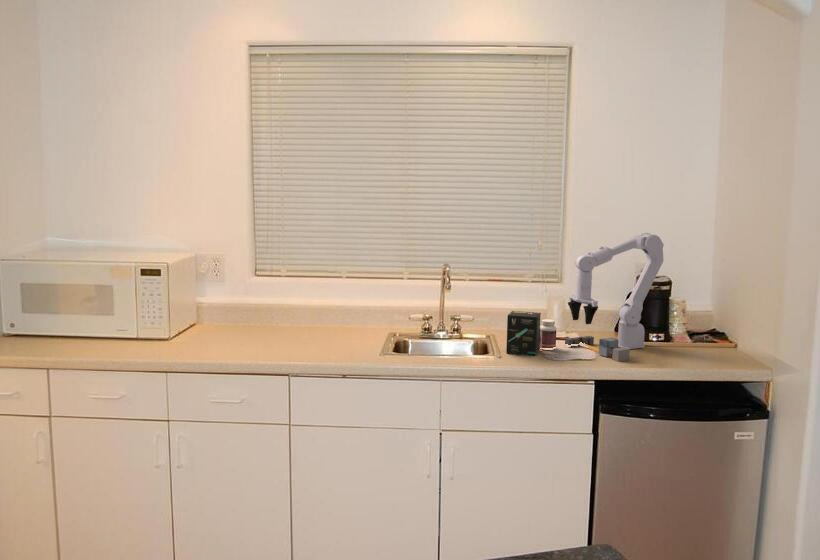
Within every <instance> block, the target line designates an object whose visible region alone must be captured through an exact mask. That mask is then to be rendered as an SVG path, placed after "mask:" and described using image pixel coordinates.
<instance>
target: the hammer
mask: <svg viewBox="0 0 820 560" xmlns="http://www.w3.org/2000/svg"><path fill="white" fill-rule="evenodd" d="M579 343H580V342H579ZM583 344H584V343H583ZM585 345H586V344H585ZM586 346H588V347H589V348H590V349H592V350H593V352H595V353H598V354H599V347H598V348H597V347H595V346H593V345H586ZM592 350H591V351H592ZM630 350H631V349H627V348H624V347H622V348H621V347H618V348H614V349H613V353H610V354H609V356H608V358H609V357H610V358H611V360H613V361H616V362H625V361H630Z"/></svg>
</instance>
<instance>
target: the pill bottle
mask: <svg viewBox="0 0 820 560" xmlns="http://www.w3.org/2000/svg"><path fill="white" fill-rule="evenodd" d="M555 322H556V321H555V320H554V319H548V318H546V319H542V320H541V324H542V325H540V348H553V347H556V348H557V327H556V325H555V324H556V323H555Z"/></svg>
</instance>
